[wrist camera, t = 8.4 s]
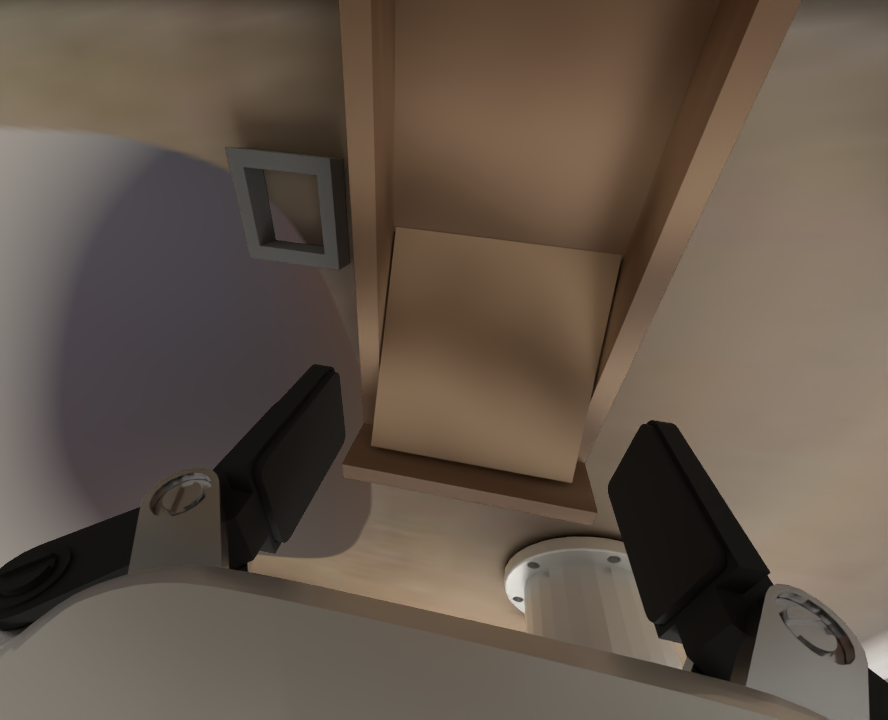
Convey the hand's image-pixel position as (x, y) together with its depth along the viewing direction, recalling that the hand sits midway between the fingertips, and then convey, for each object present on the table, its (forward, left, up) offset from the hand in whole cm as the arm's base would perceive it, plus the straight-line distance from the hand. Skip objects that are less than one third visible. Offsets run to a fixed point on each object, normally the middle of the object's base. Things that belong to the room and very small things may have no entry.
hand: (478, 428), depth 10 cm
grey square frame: (+4, +9, -7) cm, 12 cm away
